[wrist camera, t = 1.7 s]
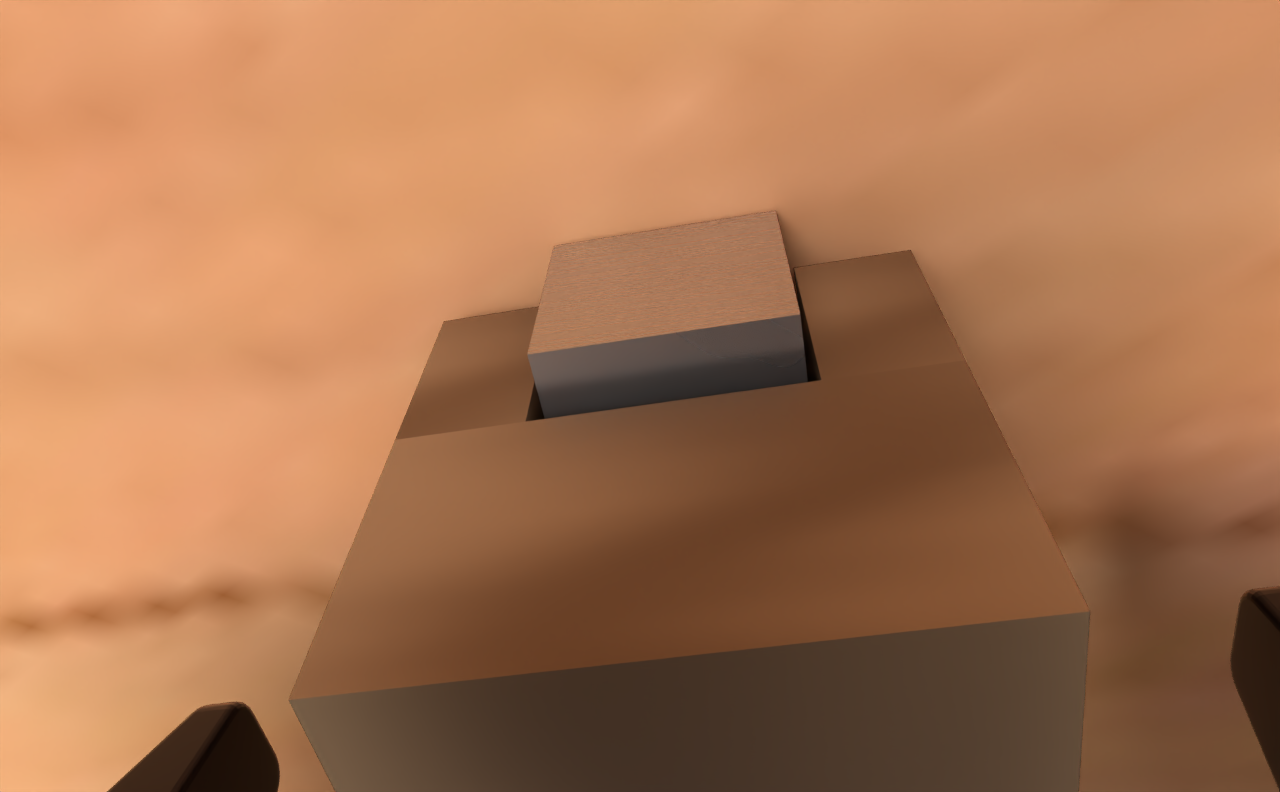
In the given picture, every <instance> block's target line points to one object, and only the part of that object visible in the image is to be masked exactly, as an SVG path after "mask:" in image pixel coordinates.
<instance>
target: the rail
mask: <svg viewBox="0 0 1280 792" xmlns="http://www.w3.org/2000/svg"><path fill="white" fill-rule="evenodd" d="M527 355H528V359H529V363H530V366H531V370H532V374H533V377H534V381H535V385H536V388H537V392H538V396H539V399H540V403H541V407H542V410H543V414H544V418H545V419H548V418H555V417H562V416H569V415H576V414H584V413H591V412H598V411H605V410H612V409H619V408H627V407H634V406H641V405H648V404H655V403H662V402H669V401H677V400H684V399H691V398H698V397H705V396H712V395H720V394H727V393H734V392H741V391H748V390H755V389H763V388H770V387H777V386H784V385H791V384H798V383H805V382H808V379H807V370H806V361H805V352H804V343H803V334H802V325H801V316H800V311H799V306H798V302H797V298H796V294H795V290H794V285H793V281H792V277H791V273H790V268H789V264H788V260H787V256H786V252H785V247H784V243H783V239H782V235H781V230H780V226H779V222H778V218H777V214H776V211H770V212H764V213H758V214H751V215H745V216H739V217H732V218H726V219H720V220H714V221H707V222H701V223H695V224H689V225H682V226H676V227H670V228H664V229H657V230H651V231H645V232H638V233H632V234H626V235H620V236H613V237H607V238H601V239H595V240H588V241H582V242H576V243H570V244H563V245H557V246H554V248H553V252H552V256H551V260H550V264H549V268H548V272H547V276H546V280H545V284H544V288H543V292H542V296H541V301H540V305H539V309H538V313H537V317H536V321H535V325H534V329H533V333H532V337H531V341H530V345H529V349H528V354H527Z"/></svg>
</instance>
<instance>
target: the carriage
mask: <svg viewBox="0 0 1280 792" xmlns="http://www.w3.org/2000/svg"><path fill="white" fill-rule="evenodd" d="M794 272H795V281H796V290H797V299H798V306H799V311H800V316H801V325H802V334H803V343H804V352H805V361H806V370H807V379H808V382H805V383H798V384H791V385H784V386H777V387H770V388H763V389H755V390H748V391H741V392H734V393H727V394H720V395H712V396H705V397H698V398H691V399H684V400H677V401H669V402H662V403H655V404H648V405H641V406H634V407H627V408H619V409H612V410H605V411H598V412H591V413H584V414H576V415H569V416H562V417H555V418H548V419H545V418H544V414H543V410H542V407H541V403H540V399H539V396H538V392H537V388H536V385H535V381H534V377H533V374H532V370H531V366H530V363H529V359H528V355H527V354H528V349H529V345H530V341H531V337H532V333H533V329H534V325H535V321H536V317H537V313H538V309H539V307H535V308H528V309H522V310H515V311H509V312H502V313H496V314H489V315H482V316H476V317H469V318H463V319H456V320H450V321H444V322H443V325H442V327H441V330H440V332H439V335H438V337H437V339H436V342H435V344H434V347H433V349H432V352H431V354H430V357H429V359H428V361H427V364H426V366H425V369H424V371H423V374H422V376H421V378H420V381H419V383H418V386H417V388H416V391H415V393H414V395H413V398H412V400H411V403H410V405H409V408H408V410H407V413H406V415H405V417H404V420H403V422H402V425H401V427H400V430H399V432H398V434H397V437H396V439H395V442H394V444H393V447H392V449H391V452H390V454H389V456H388V459H387V461H386V464H385V466H384V469H383V471H382V473H381V476H380V478H379V481H378V483H377V486H376V488H375V491H374V493H373V495H372V498H371V500H370V503H369V505H368V508H367V510H366V512H365V515H364V517H363V520H362V522H361V525H360V527H359V529H358V532H357V534H356V537H355V539H354V542H353V544H352V547H351V549H350V551H349V554H348V556H347V559H346V561H345V564H344V566H343V568H342V571H341V573H340V576H339V578H338V581H337V583H336V586H335V588H334V590H333V593H332V595H331V598H330V600H329V603H328V605H327V607H326V610H325V612H324V615H323V617H322V620H321V622H320V624H319V627H318V629H317V632H316V634H315V637H314V639H313V642H312V644H311V646H310V649H309V651H308V654H307V656H306V659H305V661H304V663H303V666H302V668H301V671H300V673H299V676H298V678H297V681H296V683H295V685H294V688H293V690H292V693H291V695H290V698H289V702H290V704H291V706H292V708H293V710H294V712H295V714H296V716H297V718H298V719H299V721H300V723H301V725H302V727H303V729H304V731H305V733H306V735H307V737H308V739H309V741H310V743H311V745H312V747H313V749H314V751H315V753H316V755H317V757H318V758H319V760H320V762H321V764H322V766H323V768H324V770H325V772H326V774H327V776H328V778H329V780H330V782H331V784H332V786H333V788H334V790H335V792H1079V778H1080V762H1081V747H1082V731H1083V715H1084V700H1085V684H1086V668H1087V652H1088V637H1089V621H1090V610H1089V608H1088V606H1087V604H1086V602H1085V600H1084V598H1083V596H1082V594H1081V592H1080V590H1079V588H1078V586H1077V584H1076V582H1075V580H1074V578H1073V576H1072V574H1071V572H1070V570H1069V568H1068V566H1067V564H1066V562H1065V560H1064V558H1063V556H1062V554H1061V552H1060V550H1059V548H1058V546H1057V544H1056V542H1055V540H1054V538H1053V536H1052V534H1051V532H1050V530H1049V528H1048V526H1047V524H1046V522H1045V520H1044V518H1043V516H1042V514H1041V512H1040V510H1039V508H1038V505H1037V503H1036V501H1035V499H1034V497H1033V495H1032V493H1031V491H1030V489H1029V487H1028V485H1027V483H1026V481H1025V479H1024V477H1023V475H1022V473H1021V471H1020V469H1019V467H1018V465H1017V463H1016V461H1015V459H1014V457H1013V455H1012V453H1011V451H1010V449H1009V447H1008V445H1007V443H1006V441H1005V439H1004V437H1003V435H1002V433H1001V431H1000V429H999V427H998V425H997V423H996V421H995V419H994V417H993V415H992V413H991V411H990V409H989V407H988V405H987V403H986V401H985V399H984V397H983V395H982V393H981V391H980V389H979V387H978V385H977V383H976V381H975V379H974V377H973V375H972V373H971V371H970V369H969V367H968V365H967V363H966V361H965V359H964V357H963V355H962V353H961V351H960V349H959V347H958V345H957V343H956V341H955V338H954V336H953V334H952V332H951V330H950V328H949V326H948V324H947V322H946V320H945V318H944V316H943V314H942V312H941V310H940V308H939V306H938V304H937V302H936V300H935V298H934V296H933V294H932V292H931V290H930V288H929V286H928V284H927V282H926V280H925V278H924V276H923V274H922V272H921V270H920V268H919V266H918V264H917V262H916V260H915V258H914V256H913V254H912V252H911V250H908V251H901V252H895V253H888V254H882V255H875V256H869V257H862V258H856V259H849V260H842V261H836V262H829V263H823V264H816V265H810V266H803V267H797V268H794Z"/></svg>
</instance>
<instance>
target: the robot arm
mask: <svg viewBox="0 0 1280 792" xmlns="http://www.w3.org/2000/svg"><path fill="white" fill-rule="evenodd" d="M1230 661H1231V671H1232V676H1233V680H1234V683H1235V686H1236V689H1237V691H1238V694H1239V696H1240V698H1241V701H1242V703H1243V705H1244V708H1245V710H1246V713H1247V715H1248V717H1249V720H1250V722H1251V725H1252V727H1253V729H1254V732H1255V734H1256V736H1257V739H1258V741H1259V744H1260V746H1261V748H1262V751H1263V753H1264V756H1265V758H1266V760H1267V763H1268V765H1269V767H1270V770H1271V772H1272V775H1273V777H1274V779H1275V782H1276V784H1277V787H1278V789H1279V791H1280V586H1276V587H1267V588H1258V589H1251V590H1249V591H1246V592H1245V593H1244V594H1243V596H1242V597H1241V600H1240V603H1239V608H1238V614H1237V620H1236V626H1235V632H1234V638H1233V645H1232V651H1231V659H1230ZM279 777H280V771H279V763H278V760H277V757H276V754H275V752H274V750H273V748H272V747H271V745H270V743H269V741H268V739H267V737H266V736H265V734H264V732H263V730H262V728H261V726H260V725H259V723H258V721H257V719H256V717H255V715H254V714H253V712H252V710H251V709H250V707H248V706H247V705H246V704H244V703H243V702H229V703H221V704H212V705H206V706H203V707H200V708H199V709H197V710H196V711H195V712H193V713H192V714H191V715H190V716H189V717H188V718H187V719H185V720H184V721H183V722H182V723H181V724H180V725H179V726H178V727H177V728H176V729H175V730H174V731H172V732H171V733H170V734H169V735H168V736H167V737H166V738H165V739H164V740H163V741H162V742H161V743H159V744H158V745H157V746H156V747H155V748H154V749H153V750H152V751H151V752H150V753H149V754H147V755H146V756H145V757H144V758H143V759H142V760H141V761H140V762H139V763H138V764H137V765H136V766H134V767H133V768H132V769H131V770H130V771H129V772H128V773H127V774H126V775H125V776H124V777H123V778H121V779H120V780H119V781H118V782H117V783H116V784H115V785H114V786H113V787H112V788H111V789H110V790H108V791H107V792H278V787H279Z"/></svg>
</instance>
